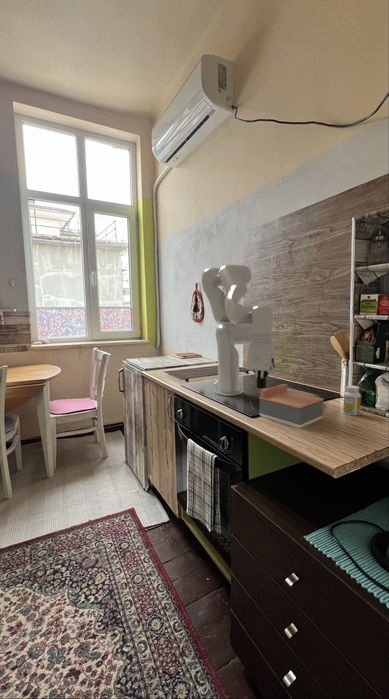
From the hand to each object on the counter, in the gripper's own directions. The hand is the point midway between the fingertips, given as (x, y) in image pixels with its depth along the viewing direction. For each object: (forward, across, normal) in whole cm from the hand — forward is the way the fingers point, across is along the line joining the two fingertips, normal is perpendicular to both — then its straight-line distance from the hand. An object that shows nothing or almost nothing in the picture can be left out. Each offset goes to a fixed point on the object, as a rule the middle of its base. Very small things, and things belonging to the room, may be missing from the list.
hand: (261, 387), depth 117 cm
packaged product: (+9, +4, +19) cm, 22 cm away
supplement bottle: (+9, +25, +20) cm, 33 cm away
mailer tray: (+8, +13, 0) cm, 15 cm away
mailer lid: (+2, +13, 0) cm, 13 cm away
